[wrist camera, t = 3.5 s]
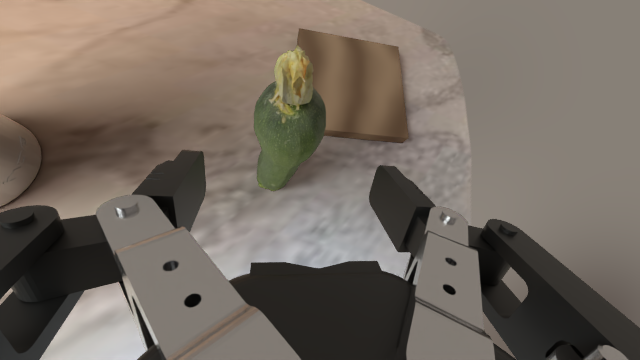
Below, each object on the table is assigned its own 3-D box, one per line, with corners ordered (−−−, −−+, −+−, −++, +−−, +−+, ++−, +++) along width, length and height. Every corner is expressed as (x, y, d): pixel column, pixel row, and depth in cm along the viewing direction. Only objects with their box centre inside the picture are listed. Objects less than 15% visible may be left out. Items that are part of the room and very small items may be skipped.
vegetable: (269, 154, 28) (287, -32, 10) (303, 173, 29) (384, 26, 10) (248, 188, 27) (224, 42, 8) (284, 207, 27) (339, 108, 9)
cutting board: (295, 132, 30) (297, 127, 29) (297, 37, 34) (299, 28, 32) (402, 143, 33) (408, 138, 32) (392, 54, 37) (398, 46, 35)
